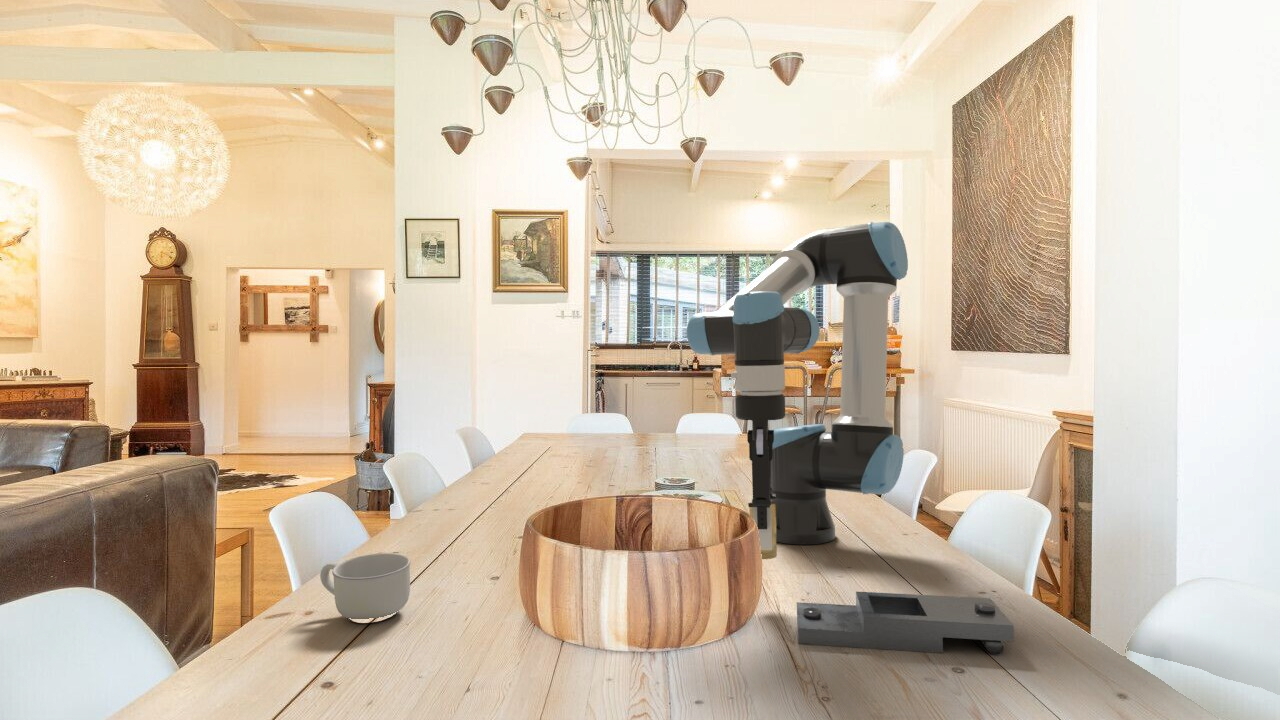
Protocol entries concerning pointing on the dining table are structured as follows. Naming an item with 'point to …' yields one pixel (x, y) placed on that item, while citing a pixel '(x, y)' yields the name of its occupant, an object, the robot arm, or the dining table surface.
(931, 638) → the grey slotted bracket
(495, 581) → the dining table surface
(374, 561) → the teacup
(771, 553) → the brass pin
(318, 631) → the dining table surface
